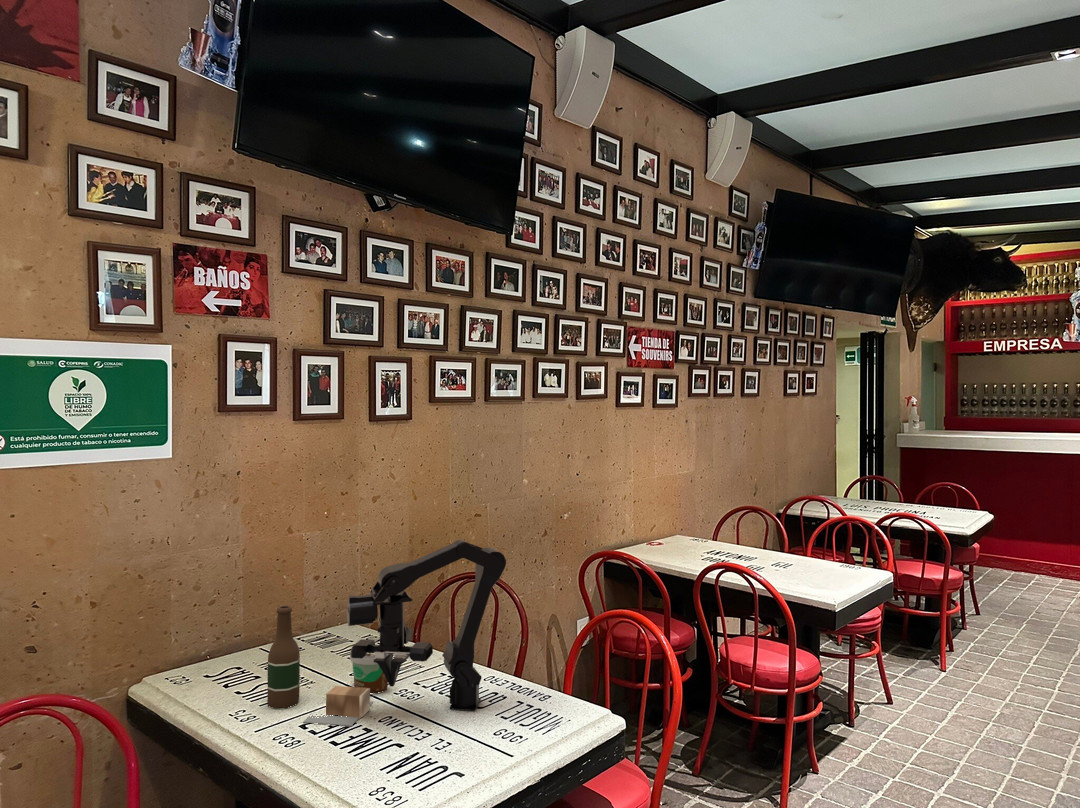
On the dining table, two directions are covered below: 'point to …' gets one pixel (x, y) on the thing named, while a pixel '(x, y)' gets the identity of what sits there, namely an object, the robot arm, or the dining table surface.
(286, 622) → the beer bottle
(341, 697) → the block
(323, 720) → the mat
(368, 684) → the food container
